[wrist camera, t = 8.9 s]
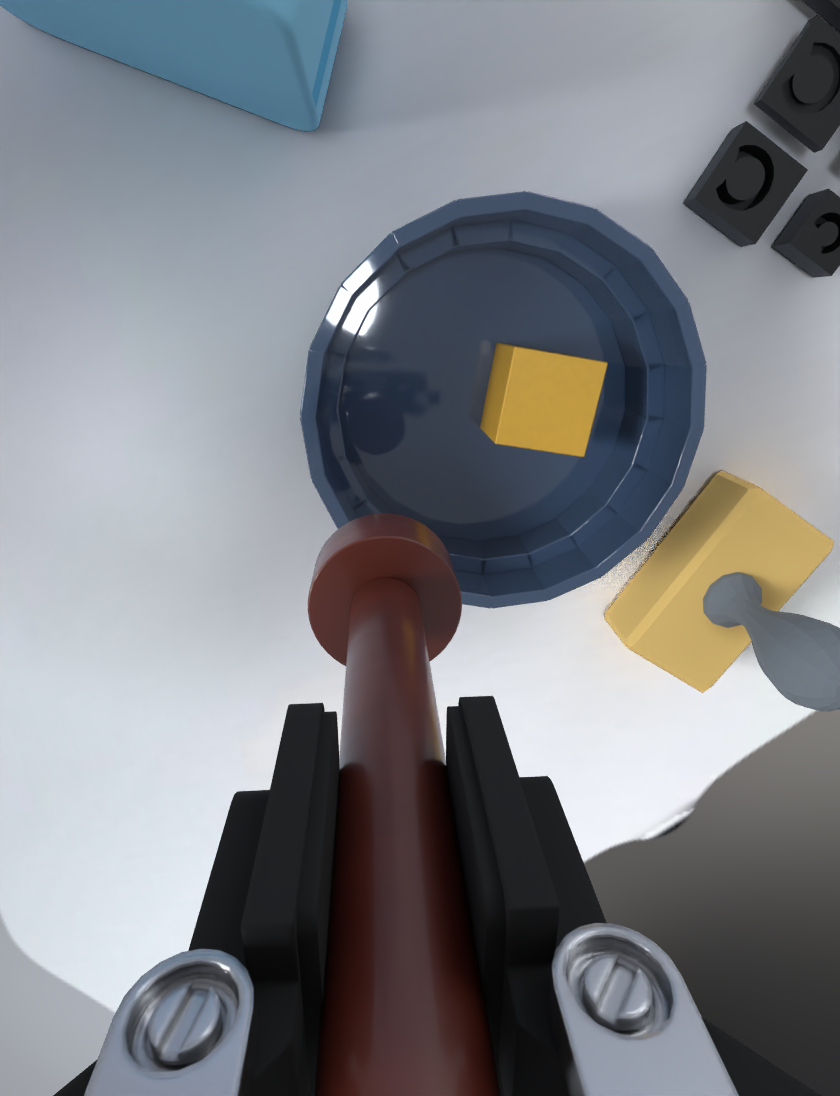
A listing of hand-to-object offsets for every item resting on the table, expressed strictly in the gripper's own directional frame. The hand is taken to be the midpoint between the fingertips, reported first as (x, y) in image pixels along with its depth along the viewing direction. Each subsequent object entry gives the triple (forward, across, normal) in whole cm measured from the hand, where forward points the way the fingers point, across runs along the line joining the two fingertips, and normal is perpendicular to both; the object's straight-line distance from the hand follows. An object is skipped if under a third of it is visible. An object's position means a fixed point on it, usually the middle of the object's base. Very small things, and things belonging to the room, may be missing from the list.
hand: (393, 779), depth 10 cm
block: (+22, -7, -4) cm, 23 cm away
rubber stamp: (+23, -17, +6) cm, 29 cm away
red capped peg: (+9, 0, 0) cm, 9 cm away
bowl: (+23, -5, -3) cm, 24 cm away
